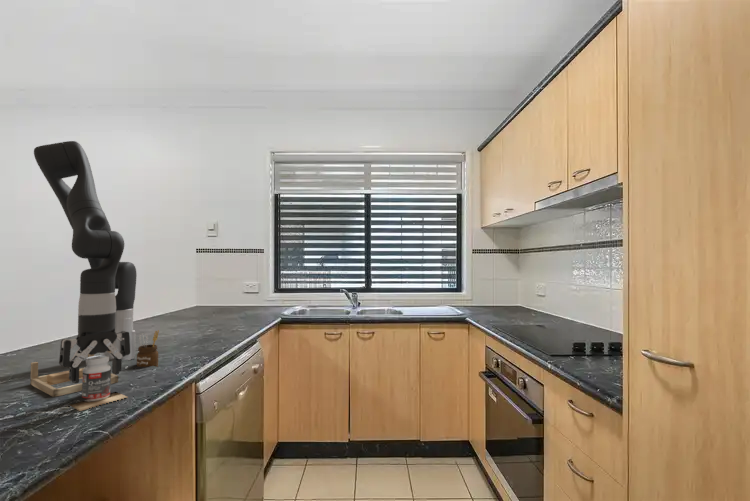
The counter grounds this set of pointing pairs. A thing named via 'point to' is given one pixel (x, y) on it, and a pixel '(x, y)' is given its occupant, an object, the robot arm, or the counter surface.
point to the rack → (52, 391)
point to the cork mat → (86, 405)
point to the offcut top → (61, 377)
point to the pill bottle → (96, 378)
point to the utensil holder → (148, 353)
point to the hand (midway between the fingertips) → (96, 378)
